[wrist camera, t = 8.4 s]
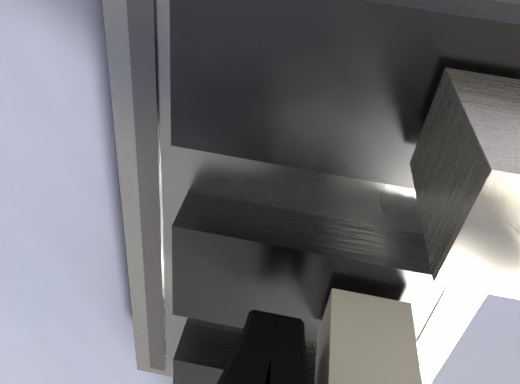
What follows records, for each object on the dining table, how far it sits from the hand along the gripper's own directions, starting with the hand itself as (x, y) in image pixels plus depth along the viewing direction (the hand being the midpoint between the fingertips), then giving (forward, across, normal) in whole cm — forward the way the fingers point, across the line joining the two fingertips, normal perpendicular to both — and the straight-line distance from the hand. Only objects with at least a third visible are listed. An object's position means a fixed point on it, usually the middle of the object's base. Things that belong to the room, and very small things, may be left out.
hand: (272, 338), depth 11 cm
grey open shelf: (+4, 0, 0) cm, 4 cm away
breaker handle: (+1, -2, 0) cm, 3 cm away
